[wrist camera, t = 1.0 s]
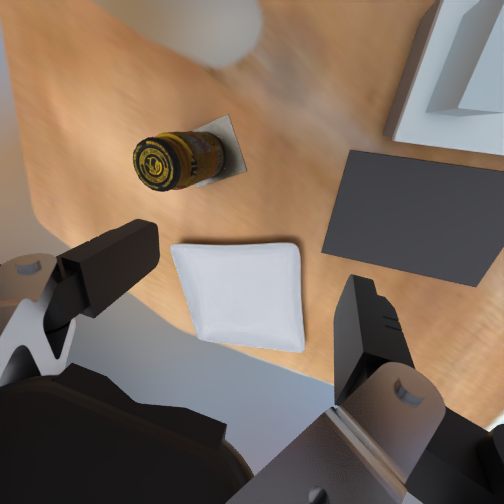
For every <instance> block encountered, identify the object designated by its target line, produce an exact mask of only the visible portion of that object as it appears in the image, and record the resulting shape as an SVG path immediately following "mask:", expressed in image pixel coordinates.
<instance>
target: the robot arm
mask: <svg viewBox="0 0 504 504" xmlns="http://www.w3.org/2000/svg"><path fill="white" fill-rule="evenodd" d="M159 258H160V250H159V234H158V227H157V225H156V224H155V223H153V222H149V221H145V220H141V219H135V220H133V221H131V222H129V223H127V224H125V225H123V226H121V227H119V228H117V229H113V230H110V231H108V232H105V233H103V234H101V235H99V237H95V238H93V239H91V240H90V241H87V242H85V243H83V244H81V245H79V246H77V247H75V248H73V249H71V250H69V251H67V252H65V253H63V254H61V255H59V256H56V257H54V256H53V255H50V254H42V253H37V254H28V255H24V256H19V257H16V258H13V259H11V260H9V261H7V262H5V263H3V264H2V265H1V264H0V504H401V503H402V501H403V499H404V497H405V495H406V492H407V491H408V492H409V493H410V494H412V495H413V496H414V497H416V498H417V499H418V500H420V501H421V502H422V503H423V504H504V424H500V425H497V426H496V427H495V428H494V429H492V430H491V431H490V432H488V431H486V430H485V429H483V428H481V427H479V426H478V425H476V424H474V423H472V422H471V421H469V420H467V419H466V418H464V417H462V416H460V415H459V414H457V413H455V412H454V411H452V410H450V409H449V408H447V407H446V406H445V403H444V400H443V398H442V396H441V394H440V393H439V391H438V390H437V388H436V387H435V386H434V385H433V383H432V382H431V381H430V380H429V379H428V378H426V377H425V376H424V375H423V374H421V373H420V372H418V371H417V370H416V369H415V366H414V364H413V361H412V358H411V355H410V352H409V349H408V346H407V343H406V340H405V337H404V334H403V332H402V328H401V325H400V322H398V320H399V319H398V317H397V314H396V311H395V308H394V307H393V306H392V305H391V303H390V302H389V301H388V300H387V299H386V298H385V297H383V296H379V295H377V292H376V289H375V285H374V281H373V280H372V279H368V278H364V277H360V276H356V275H353V274H351V275H350V276H349V278H348V280H347V282H346V285H345V287H344V290H343V292H342V295H341V297H340V300H339V302H338V304H337V307H336V311H335V315H334V392H335V394H334V395H335V396H334V397H335V405H337V406H339V407H337V408H336V409H335V408H334V407H331V408H329V409H327V410H326V411H325V412H324V413H323V414H322V415H320V416H319V417H318V418H317V419H316V420H315V421H314V422H313V423H312V424H311V425H310V426H309V427H307V428H306V430H304V431H303V432H302V433H301V434H300V435H299V436H298V437H297V438H296V439H294V440H293V441H292V442H291V443H290V444H289V445H288V446H287V447H286V448H285V449H284V450H283V451H281V452H280V453H279V454H278V455H277V456H276V457H275V458H274V459H273V460H272V461H271V462H270V463H268V465H266V466H265V467H264V468H263V469H262V470H261V471H260V472H259V473H258V474H257V475H255V476H254V475H253V473H252V471H251V469H250V467H249V466H248V464H247V463H246V461H245V460H244V459H243V457H242V456H241V455H240V454H239V452H238V451H237V450H236V449H235V448H234V447H233V446H232V445H231V444H230V443H228V442H227V441H226V440H225V434H226V427H227V424H225V423H222V422H220V421H217V420H215V419H212V418H210V417H207V416H205V415H202V414H200V413H197V412H194V411H192V410H190V409H187V408H183V407H172V406H161V405H150V404H140V403H137V402H135V401H134V400H132V399H131V398H130V397H129V396H128V395H127V394H126V393H124V392H123V391H122V390H121V389H120V388H119V387H118V386H117V385H116V384H114V383H113V382H112V381H111V380H110V379H109V378H108V377H107V376H104V375H102V374H99V373H97V372H94V371H91V370H89V369H87V368H84V367H81V366H79V365H77V364H74V363H71V364H70V365H69V366H68V367H67V368H66V369H65V370H64V368H65V364H66V360H67V357H68V353H69V349H70V346H71V342H72V338H73V335H74V331H75V327H76V319H75V317H76V316H77V315H78V314H83V315H86V316H89V317H92V318H95V317H96V316H97V315H99V314H100V313H101V312H102V311H104V310H105V309H106V308H107V307H108V306H110V305H111V304H112V303H113V302H115V301H116V300H117V299H118V298H119V297H121V296H122V295H123V294H124V293H125V292H127V291H128V290H129V289H130V288H132V287H133V286H134V285H135V284H136V283H138V282H139V281H140V280H141V279H142V278H144V277H145V276H146V275H147V274H148V273H150V272H151V271H152V270H153V269H154V268H155V267H156V266H157V264H158V262H159Z"/></svg>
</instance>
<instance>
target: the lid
mask: <svg viewBox="0 0 504 504" xmlns="http://www.w3.org/2000/svg"><path fill="white" fill-rule="evenodd" d="M391 141H397V142H405V143H413V144H420V145H428V146H436V147H443V148H451V149H459V150H467V151H474V152H482V153H490V154H497V155H504V0H441V1H440V3H439V6H438V9H437V12H436V15H435V18H434V21H433V23H432V26H431V29H430V32H429V35H428V38H427V41H426V43H425V46H424V49H423V52H422V55H421V58H420V61H419V63H418V66H417V69H416V72H415V75H414V78H413V81H412V83H411V86H410V89H409V92H408V95H407V98H406V101H405V103H404V106H403V109H402V112H401V115H400V118H399V120H398V123H397V126H396V129H395V132H394V135H393V138H392V140H391Z"/></svg>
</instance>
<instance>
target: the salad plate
mask: <svg viewBox="0 0 504 504" xmlns="http://www.w3.org/2000/svg"><path fill="white" fill-rule="evenodd" d="M170 250H171V253H172V257H173V260H174V263H175V266H176V269H177V272H178V276H179V279H180V282H181V285H182V288H183V291H184V295H185V298H186V301H187V304H188V308H189V311H190V315H191V318H192V322H193V325H194V329H195V332H196V335H197V337H198V338H199V339H200V340H204V341H209V342H216V343H224V344H232V345H240V346H249V347H257V348H265V349H273V350H280V351H288V352H298V353H299V352H303V351H304V350H305V335H304V325H303V314H302V299H301V258H300V251H299V248H298V246H297V245H296V244H294V243H290V242H279V243H262V244H243V245H205V244H173V245H171V247H170Z"/></svg>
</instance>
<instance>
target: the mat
mask: <svg viewBox="0 0 504 504" xmlns="http://www.w3.org/2000/svg"><path fill="white" fill-rule="evenodd" d="M503 247H504V172H502V171H495V170H488V169H481V168H474V167H467V166H459V165H452V164H445V163H438V162H431V161H424V160H417V159H410V158H403V157H396V156H389V155H382V154H375V153H368V152H360V151H353V150H350V152H349V156H348V159H347V163H346V166H345V170H344V173H343V177H342V181H341V184H340V188H339V191H338V195H337V198H336V202H335V205H334V209H333V213H332V216H331V220H330V223H329V227H328V230H327V234H326V237H325V241H324V245H323V248H322V252H321V253H325V254H330V255H334V256H339V257H343V258H348V259H352V260H357V261H361V262H366V263H370V264H374V265H379V266H383V267H388V268H392V269H397V270H401V271H406V272H410V273H415V274H419V275H423V276H428V277H432V278H437V279H441V280H446V281H450V282H455V283H459V284H464V285H468V286H472V287H477V285H478V284H479V282H480V281H481V279H482V278H483V276H484V275H485V273H486V272H487V271H488V269H489V268H490V266H491V265H492V263H493V262H494V260H495V259H496V257H497V256H498V254H499V253H500V251H501V250H502V248H503Z"/></svg>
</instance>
